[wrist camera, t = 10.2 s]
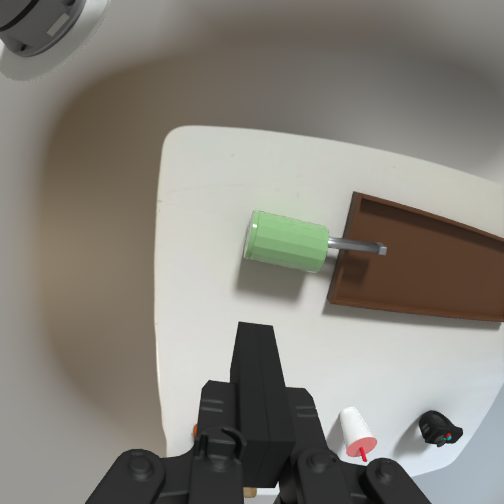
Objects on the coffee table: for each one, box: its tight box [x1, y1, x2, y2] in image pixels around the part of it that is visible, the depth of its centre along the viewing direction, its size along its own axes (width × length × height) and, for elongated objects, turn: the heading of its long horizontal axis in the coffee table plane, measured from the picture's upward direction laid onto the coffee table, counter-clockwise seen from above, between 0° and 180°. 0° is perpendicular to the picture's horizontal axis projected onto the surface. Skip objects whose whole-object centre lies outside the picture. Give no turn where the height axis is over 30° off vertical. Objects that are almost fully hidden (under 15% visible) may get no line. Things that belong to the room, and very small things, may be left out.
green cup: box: [243, 210, 329, 273], centre depth 38 cm, size 6×6×9 cm
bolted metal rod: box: [328, 237, 387, 255], centre depth 38 cm, size 2×1×16 cm
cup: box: [339, 407, 377, 462], centre depth 44 cm, size 5×5×12 cm
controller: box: [419, 410, 463, 447], centre depth 47 cm, size 4×12×10 cm, turn 64°
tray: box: [327, 192, 504, 322], centre depth 42 cm, size 41×15×2 cm, turn 79°
